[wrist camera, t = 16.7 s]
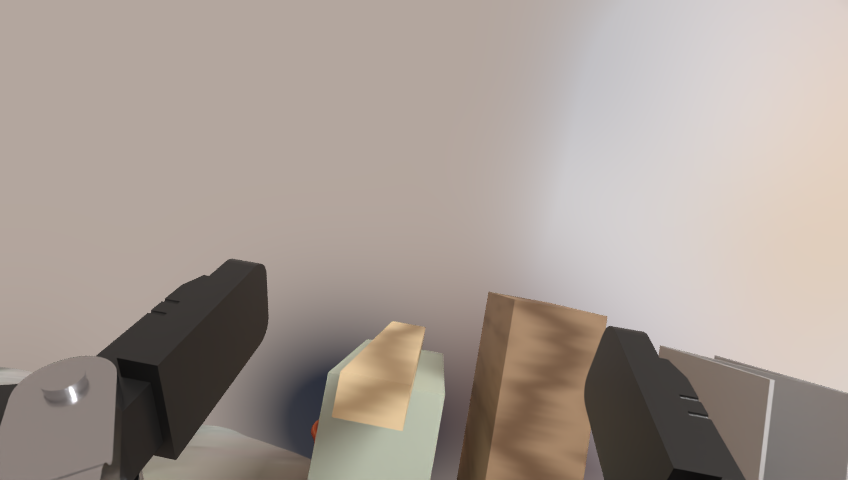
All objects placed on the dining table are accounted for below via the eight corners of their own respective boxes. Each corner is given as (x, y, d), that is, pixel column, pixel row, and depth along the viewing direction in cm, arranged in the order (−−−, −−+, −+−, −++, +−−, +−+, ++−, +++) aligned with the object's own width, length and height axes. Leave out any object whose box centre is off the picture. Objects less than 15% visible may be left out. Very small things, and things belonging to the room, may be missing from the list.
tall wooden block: (510, 585, 49) (554, 303, 52) (558, 793, 29) (626, 320, 32) (431, 568, 50) (479, 289, 52) (426, 762, 30) (503, 297, 32)
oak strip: (421, 348, 52) (425, 327, 52) (402, 431, 24) (410, 385, 24) (388, 341, 52) (392, 321, 52) (331, 417, 24) (340, 371, 24)
